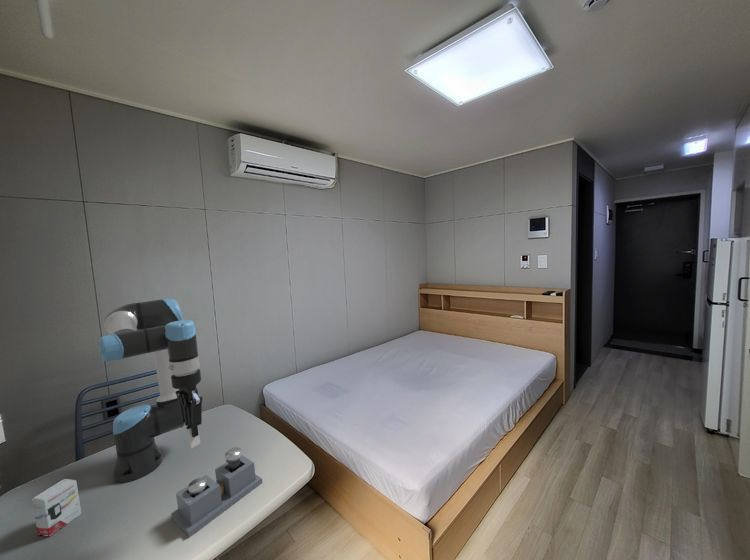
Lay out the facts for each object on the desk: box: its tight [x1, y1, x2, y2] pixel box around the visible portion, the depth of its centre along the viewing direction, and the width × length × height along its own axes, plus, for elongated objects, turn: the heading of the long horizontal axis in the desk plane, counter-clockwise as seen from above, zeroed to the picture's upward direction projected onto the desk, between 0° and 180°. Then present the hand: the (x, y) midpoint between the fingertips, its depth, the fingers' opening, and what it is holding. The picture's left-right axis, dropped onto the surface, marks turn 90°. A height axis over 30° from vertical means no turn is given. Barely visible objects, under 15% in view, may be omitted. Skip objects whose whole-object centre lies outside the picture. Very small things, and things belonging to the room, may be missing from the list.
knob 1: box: [187, 476, 207, 498], centre depth 94 cm, size 5×5×8 cm
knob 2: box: [224, 447, 243, 473], centre depth 103 cm, size 5×5×8 cm
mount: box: [170, 455, 263, 538], centre depth 99 cm, size 12×24×8 cm, turn 145°
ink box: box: [31, 478, 82, 536], centre depth 93 cm, size 9×5×12 cm, turn 168°
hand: (194, 445), depth 93 cm, fingers closed
